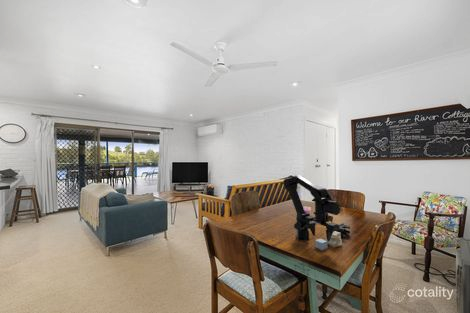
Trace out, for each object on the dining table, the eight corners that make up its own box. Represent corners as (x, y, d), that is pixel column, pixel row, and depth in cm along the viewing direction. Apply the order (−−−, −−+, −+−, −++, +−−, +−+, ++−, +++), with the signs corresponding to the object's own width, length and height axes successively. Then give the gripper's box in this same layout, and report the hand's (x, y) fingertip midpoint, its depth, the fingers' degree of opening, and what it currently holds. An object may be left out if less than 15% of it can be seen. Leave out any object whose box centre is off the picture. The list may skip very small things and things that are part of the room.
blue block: (322, 250, 108) (322, 243, 108) (315, 247, 112) (315, 240, 112) (327, 248, 111) (327, 241, 111) (320, 245, 114) (320, 238, 114)
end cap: (339, 232, 133) (339, 222, 134) (350, 235, 128) (350, 224, 128) (331, 236, 128) (331, 225, 128) (343, 239, 122) (342, 228, 122)
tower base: (333, 247, 112) (333, 241, 112) (325, 243, 117) (325, 237, 117) (341, 245, 114) (341, 239, 114) (333, 241, 119) (333, 235, 119)
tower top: (335, 241, 112) (335, 235, 112) (326, 238, 116) (326, 232, 116) (340, 238, 115) (340, 232, 115) (331, 235, 120) (330, 230, 120)
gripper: (345, 212, 107) (345, 241, 107) (315, 205, 124) (316, 230, 124) (332, 215, 102) (332, 246, 102) (303, 207, 118) (303, 234, 118)
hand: (321, 238), depth 111 cm, fingers open, 9 cm apart
